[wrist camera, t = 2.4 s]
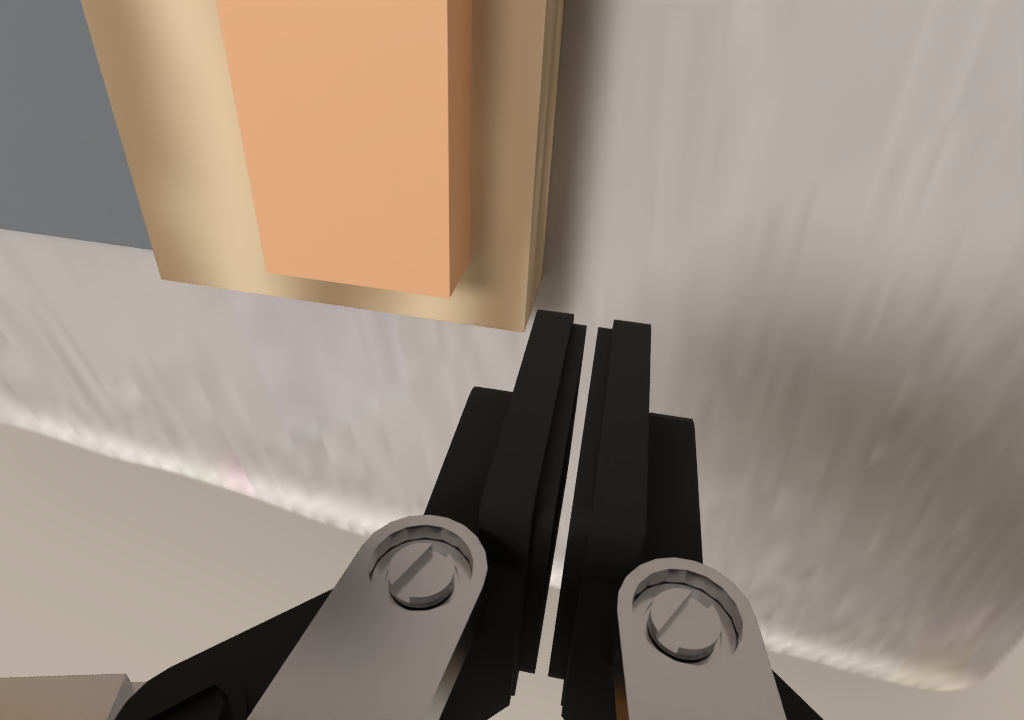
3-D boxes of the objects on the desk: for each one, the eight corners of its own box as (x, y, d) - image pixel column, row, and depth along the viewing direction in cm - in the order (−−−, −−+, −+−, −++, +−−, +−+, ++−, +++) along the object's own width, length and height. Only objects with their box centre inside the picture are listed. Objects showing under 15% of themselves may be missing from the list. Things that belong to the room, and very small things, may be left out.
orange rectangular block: (473, -51, 18) (446, -42, 16) (469, 261, 23) (449, 298, 21) (256, -67, 18) (204, -60, 16) (301, 239, 24) (266, 272, 22)
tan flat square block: (577, -162, 19) (558, -170, 16) (541, 278, 27) (523, 332, 24) (124, -185, 21) (23, -196, 18) (218, 235, 29) (161, 279, 26)
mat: (99, -228, 20) (92, -230, 20) (212, 254, 30) (208, 257, 29) (-238, -242, 22) (-248, -244, 22) (-29, 220, 31) (-35, 223, 31)
